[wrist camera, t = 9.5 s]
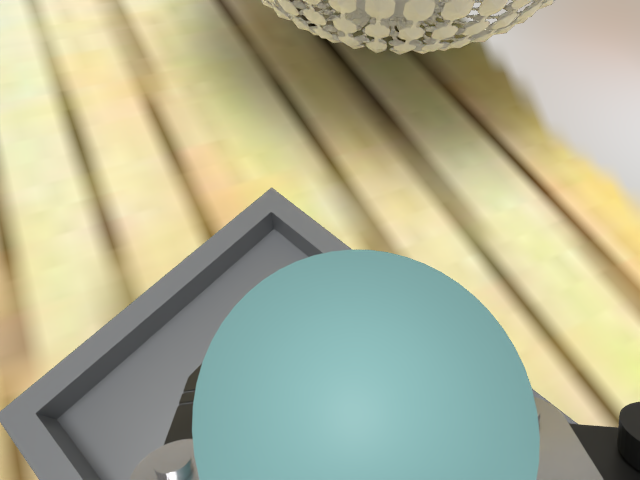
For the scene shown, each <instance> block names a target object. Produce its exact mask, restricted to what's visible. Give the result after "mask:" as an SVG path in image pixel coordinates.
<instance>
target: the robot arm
mask: <svg viewBox="0 0 640 480" xmlns="http://www.w3.org/2000/svg"><path fill="white" fill-rule="evenodd" d="M201 366H202V364H201V365H200V366H199V367H198V368H197V369H196V370H195V371H194V372H193V373H192V374H191V375H190V376H189V377H188V379H187V382H186V385H185V388H184V390H183V394H182V396H181V399H180V401H179V406H178V407H177V410H176V412H175V415H174V418H173V421H172V423H171V426H170V429H169V432H168V434H167V437H166V440H165V443H164V445H163V446H161V447H159V448H158V449H156V450H154V451H153V452H151V453H150V454H148V455H147V456H146V457H145V458H144V459H142V460H141V461H140V463H139V464H138V465H137V466H136V468H135V469H134V470H133V472H132V474H131V477H130V480H200V479H199V475H198V470H197V466H196V461H195V457H194V447H193V436H192V416H193V402H194V396H195V390H196V383H197V380H198V376H199V373H200V369H201ZM534 400H535V405H536V409H537V414H538V424H539V435H540V447H539V466H538V472H537V478H536V480H640V402H636V403H632V404H629V405H627V406H625V407H624V408H623V409H622V410H621V412H620V416H619V427H618V428H616V427H603V426H590V425H579V424H571V423H568V422H567V420H566V418H565V417H564V415H563V414H562V413H561V412H560V411H559V410H558V409H557V408H556V407H554V406H553V405H551V404H550V403H548V402H546V401H544V400H542V399H539V398H537V397H534Z"/></svg>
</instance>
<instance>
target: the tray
mask: <svg viewBox="0 0 640 480" xmlns="http://www.w3.org/2000/svg"><path fill="white" fill-rule="evenodd" d="M342 250H352V249H351V248H349V247H348V246H347V245H345V244H344V243H343V242H342V241H340V240H339V239H338V238H336V237H335V236H334V235H333V234H331V233H330V232H329V231H327V230H326V229H325V228H323V227H322V226H321V225H320V224H318V223H317V222H316V221H314V220H313V219H312V218H311V217H309V216H308V215H307V214H305V213H304V212H303V211H301V210H300V209H299V208H298V207H296V206H295V205H294V204H292V203H291V202H290V201H289V200H287V199H286V198H285V197H283V196H282V195H281V194H279V193H278V192H277V191H276V190H274V189H273V188H270V189H269V190H268V191H267V192H266V193H264V194H263V195H262V196H261V197H259V198H258V199H257V200H256V201H255V202H253V203H252V204H251V205H250V206H249V207H247V208H246V209H245V210H244V211H243V212H241V213H240V214H239V215H238V216H236V217H235V218H234V219H233V220H232V221H230V222H229V223H228V224H227V225H226V226H224V227H223V228H222V229H221V230H219V231H218V232H217V233H216V234H215V235H213V236H212V237H211V238H210V239H209V240H207V241H206V242H205V243H204V244H203V245H201V246H200V247H199V248H198V249H196V250H195V251H194V252H193V253H192V254H190V255H189V256H188V257H187V258H186V259H184V260H183V261H182V262H181V263H180V264H178V265H177V266H176V267H175V268H173V269H172V270H171V271H170V272H169V273H167V274H166V275H165V276H164V277H163V278H161V279H160V280H159V281H158V282H156V283H155V284H154V285H153V286H152V287H150V288H149V289H148V290H147V291H146V292H144V293H143V294H142V295H141V296H140V297H138V298H137V299H136V300H135V301H133V302H132V303H131V304H130V305H129V306H127V307H126V308H125V309H124V310H123V311H121V312H120V313H119V314H118V315H117V316H115V317H114V318H113V319H112V320H110V321H109V322H108V323H107V324H106V325H104V326H103V327H102V328H101V329H100V330H98V331H97V332H96V333H95V334H94V335H92V336H91V337H90V338H89V339H87V340H86V341H85V342H84V343H83V344H81V345H80V346H79V347H78V348H77V349H75V350H74V351H73V352H72V353H70V354H69V355H68V356H67V357H66V358H64V359H63V360H62V361H61V362H60V363H58V364H57V365H56V366H55V367H54V368H52V369H51V370H50V371H49V372H47V373H46V374H45V375H44V376H43V377H41V378H40V379H39V380H38V381H37V382H35V383H34V384H33V385H32V386H31V387H29V388H28V389H27V390H26V391H24V392H23V393H22V394H21V395H20V396H18V397H17V398H16V399H15V400H14V401H12V402H11V403H10V404H9V405H7V406H6V407H5V408H4V409H3V410H1V411H0V422H1V424H2V425H3V427H4V428H5V430H6V431H7V433H8V434H9V436H10V437H11V439H12V440H13V442H14V443H15V445H16V446H17V448H18V449H19V451H20V452H21V453H22V455H23V456H24V458H25V459H26V461H27V462H28V464H29V465H30V467H31V468H32V470H33V471H34V473H35V474H36V476H37V477H38V479H39V480H130V477H131V474H132V472H133V470H134V469H135V468H136V466H137V465H138V464H139V463H140V461H141V460H142V459H144V458H145V457H146V456H147V455H148V454H150V453H151V452H153V451H154V450H156V449H158V448H159V447H161V446H163V445H164V443H165V440H166V437H167V434H168V432H169V429H170V426H171V423H172V421H173V418H174V415H175V412H176V410H177V407H178V406H179V401H180V399H181V396H182V394H183V390H184V388H185V385H186V382H187V379H188V377H189V376H190V375H191V374H192V373H193V372H194V371H195V370H196V369H197V368H198V367H199V366H200V365H201V364H202V362H203V360H204V357H205V355H206V353H207V350H208V348H209V346H210V343H211V341H212V339H213V338H214V336H215V334H216V332H217V331H218V329H219V327H220V325H221V324H222V322H223V321H224V320H225V318H226V317H227V316H228V314H229V313H230V312H231V310H232V309H233V308H234V306H235V305H236V304H237V303H238V302H239V301H240V300H241V299H242V298H243V297H244V296H245V295H246V294H247V293H248V292H249V291H250V290H251V289H253V288H254V287H255V286H256V285H257V284H259V283H260V282H261V281H262V280H264V279H265V278H267V277H268V276H270V275H271V274H273V273H275V272H276V271H278V270H279V269H281V268H284V267H286V266H288V265H290V264H292V263H294V262H296V261H299V260H302V259H305V258H308V257H310V256H313V255H318V254H322V253H327V252H332V251H342ZM532 391H533V395H534V397H537V398H539V399H542V400H544V401H546V402H548V403H550V402H549V401H547V400H546V399H545V398H543V397H542V396H541V395H540V394H538V393H537V392H536V391H534V390H533V389H532ZM550 404H551V403H550ZM551 405H552V404H551ZM553 406H554V405H553ZM554 407H555V406H554ZM557 409H558V408H557ZM558 410H559V409H558ZM559 411H560V410H559ZM560 412H561V413H562V414H563V415H564V417H565V418H566V420H567V422H568V423H571V424H577V423H576V422H574V421H573V420H572V419H571V418H569V417H568V416H567V415H565V414H564V413H563V412H562V411H560Z"/></svg>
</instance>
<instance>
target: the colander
mask: <svg viewBox="0 0 640 480" xmlns="http://www.w3.org/2000/svg"><path fill="white" fill-rule="evenodd" d="M261 1H262V3H263V5H265V6H268V7H270V8H273V9H274V10H275V12H276V13H277V15H278V16H279V17H280V18H283V19H287V20H292V21H293V22H294V23H295V25H296V26H297V27H298V28H299V29H304V30H307V31H309V32H311V33H312V34H313V35H319V36H320V37H321V38H326V39H328V40H329V41H331V42H332V43H338V42H343V43H345V44H346V45H348V46H350V47H351V48H353V49H357V48H362V47H364V46H365V45H363V44H362V43H364V42H366V46H367V48H368V49H370V50H372V51H374V52H375V53H378V52H382V51H385V50H387V45H386V41H385V40H382V38H385V37H387V36H392V38H393V40H392V41H389V45H391V46H394V47H393V48H391V49H390V51H393V52H395V53H397V54H399V55H400V54H403V53H406V52H409V51H411V50H413V51H415V52H418V53H421V54H424V53H426V52H429V51H431V52H433V51H435V50H437V49H438V50H442V51H445V50H448V49H450V48H461V47H462V46H465V45H467V44H469V43H471V42H485V41H486V40H488V39H489V38H490V37H491V36H492V35H493V34H502V33H507V32H508V31H509V30H510V29H511V28H512V27H513V26H514V25H515V24H519V23H524V22H525V21H526V20H527V18H528V17H532V16H533V14H534V13H535V12H536V11H537V10H538V9H540V8H543V7H546V6H549V5H551V4H553V2H554V0H512V1H513V2H511V3H509V4H508V5H507V6H506V4H507V2H508V1H509V0H328V2H329V4H328V3H327V4H324V3H321V1H322V0H303V1H305V2H306V4H304V3H303V2H300V1H293V2H290V1H288V0H261ZM323 1H325V0H323ZM531 1H534V2H533V3H532V4H531V5H530V6H528V7H526V8H525V9H524V11H520V12H519V13H518V12H517V11H518V9H519V8H521V7H523V6H525V5H527V4H529V3H530V2H531ZM475 2H477V3H478V2H480V3H481V5H480V7H478V8H472V7H473V4H474V3H475ZM275 5H278V7H277V6H275ZM329 6H331V7H332V8H333V9H332V10H329V9H326V7H329ZM307 7H309V8H310V9H307ZM313 7H315V8H316V7H318V8H320V9H322V11H319V12H317V11H315V10H314V9H313ZM296 8H299V9H303V10H300V11H299V12H298V10H297V9H296ZM501 9H505V10H506V11H509V12H505V13H504V14H502V15H500V16H499V15H498V16H490V15H492V14H494V13H497V12H499V11H500V10H501ZM471 10H477V11H478V13H479V14H477V15H475V16H474V15H467V14H469V13H470V11H471ZM335 12H337V13H339V12H340V13H341V14H339V16H337V15H333V13H335ZM437 12H438V13H439V12H441V15H439V14H437ZM299 14H300V15H304V16H305V17H306V18H307V19H308V20H309V21H305V20H303V19H302V18H301V17H296V16H297V15H299ZM323 14H325V15H330V16H329V18H327V19H325V18H324V17H323V16H322V15H323ZM518 14H519V16H518ZM346 15H347V18H346V17H345V16H346ZM289 16H290V17H289ZM517 16H518V17H517ZM436 17H439V18H440V19H442V20H444V22H445V23H444V22H440V23H438V21H435V20H436ZM464 17H467V18H469V17H470V18H471V19H472V18H473V20H474V21H470V22H468V23H466V22H461V21H460V22H459V21H458V20H456V19H461V18H464ZM516 17H517V18H516ZM491 18H493V19H494V18H496V19H497V20H498V21H496V22H494V23H492V24H490V22H489V21H485V20H486V19H491ZM515 18H516V19H515ZM514 19H515V20H514ZM332 20H333V24H334V26H332V25H326V21H332ZM369 20H370V21H369ZM513 20H514V21H513ZM368 21H369V22H370V24H369V25H367V26H366V27H365V28H363V29H362V27H364V26H365V25H366V24H367V23H368ZM424 21H425V22H427V23H428V24H430V25H432V24H433V23H434V24H436V25H435V27H434V26H430V27H429V25H426V23H424ZM477 21H479V22H477ZM309 23H312V24H313V23H314V24H315V25H317V26H308V24H309ZM447 23H448V24H447ZM452 23H455V24H457V23H459V24H462V25H464V28H458V27H457V26H453V25H451V24H452ZM420 24H422V25H423V26H424V28H425V30H424V29H423V28H421V27H420ZM489 24H490V25H489ZM320 25H322V26H323V25H324V26H323V28H321V26H320ZM396 25H397V28H398V30H399V32H396V30H395V28H394V27H395V26H396ZM389 27H391V32H390V29H389ZM436 27H437V28H436ZM361 29H362V32H364V34H363V35H361V36H355V37H354V38H353V34H351V33H355V32H356V31H359V30H361ZM484 29H486V30H484ZM338 30H340V32H338V33H337V34H338V35H339V36H337V35H336V34H330V33H329V32H337V31H338ZM489 30H492V31H489ZM328 31H329V32H328ZM426 31H427V32H433V33H432V35H431V37H429V36H426V35H425V33H426ZM454 34H455V35H462V34H463V35H465V36H466V37H462V38H458V39H457V38H454V37H455V35H454ZM367 35H369V36H371V37H374V38H375V39H373V40H371V41H369V40H370V39H369V38H367V37H366V36H367ZM397 36H398V37H399V38H401V39H404V40H406V41H405V42H402V41H400V40H398V39H397ZM422 36H423V37H424V39H423V42H424V43H427V45H421V44H423V43H422V42H421V41H419V40H416V39H419V38H421V37H422ZM470 36H471V38H469V37H470ZM474 38H475V39H474ZM441 40H453V42H452V43H448V42H442V43H440V41H441Z"/></svg>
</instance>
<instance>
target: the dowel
mask: <svg viewBox="0 0 640 480" xmlns="http://www.w3.org/2000/svg"><path fill="white" fill-rule="evenodd" d="M192 436H193V447H194V457H195V461H196V466H197V470H198V475H199V479H200V480H536V478H537V472H538V466H539V447H540V435H539V424H538V414H537V409H536V405H535V400H534V395H533V391H532V388H531V385H530V382H529V379H528V376H527V373H526V370H525V368H524V365H523V363H522V361H521V359H520V357H519V355H518V353H517V351H516V349H515V347H514V345H513V344H512V342H511V340H510V339H509V337H508V336H507V334H506V332H505V331H504V329H503V328H502V327H501V325H500V324H499V323H498V322H497V320H496V319H495V318H494V316H493V315H492V314H491V313H490V311H489V310H488V309H487V308H486V307H485V306H484V305H483V304H482V303H481V302H480V301H479V300H478V299H477V298H476V297H475V296H474V295H472V294H471V293H470V292H469V291H467V290H466V289H465V288H464V287H462V286H461V285H460V284H459V283H457V282H456V281H454V280H453V279H451V278H450V277H448V276H446V275H445V274H443V273H442V272H440V271H438V270H436V269H434V268H432V267H430V266H428V265H426V264H424V263H421V262H418V261H416V260H413V259H410V258H407V257H404V256H400V255H396V254H392V253H388V252H381V251H373V250H342V251H332V252H327V253H322V254H318V255H313V256H310V257H308V258H305V259H302V260H299V261H296V262H294V263H292V264H290V265H288V266H286V267H284V268H281V269H279V270H278V271H276V272H275V273H273V274H271V275H270V276H268V277H267V278H265V279H264V280H262V281H261V282H260V283H259V284H257V285H256V286H255V287H254V288H253V289H251V290H250V291H249V292H248V293H247V294H246V295H245V296H244V297H243V298H242V299H241V300H240V301H239V302H238V303H237V304H236V305H235V306H234V308H233V309H232V310H231V312H230V313H229V314H228V316H227V317H226V318H225V320H224V321H223V322H222V324H221V325H220V327H219V329H218V331H217V332H216V334H215V336H214V338H213V339H212V341H211V343H210V346H209V348H208V350H207V353H206V355H205V357H204V360H203V362H202V366H201V369H200V373H199V376H198V380H197V383H196V390H195V396H194V402H193V416H192Z"/></svg>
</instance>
